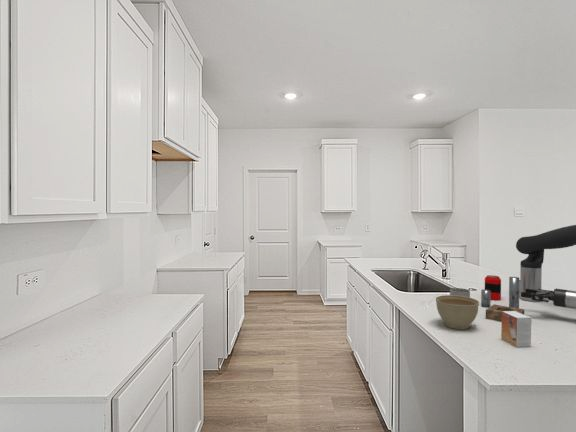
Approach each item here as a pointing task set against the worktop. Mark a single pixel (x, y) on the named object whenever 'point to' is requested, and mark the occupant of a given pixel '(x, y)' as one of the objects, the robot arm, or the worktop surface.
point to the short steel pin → (485, 298)
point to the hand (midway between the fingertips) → (523, 292)
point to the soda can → (493, 286)
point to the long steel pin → (514, 292)
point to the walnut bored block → (499, 312)
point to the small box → (516, 328)
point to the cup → (460, 292)
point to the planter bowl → (457, 310)
